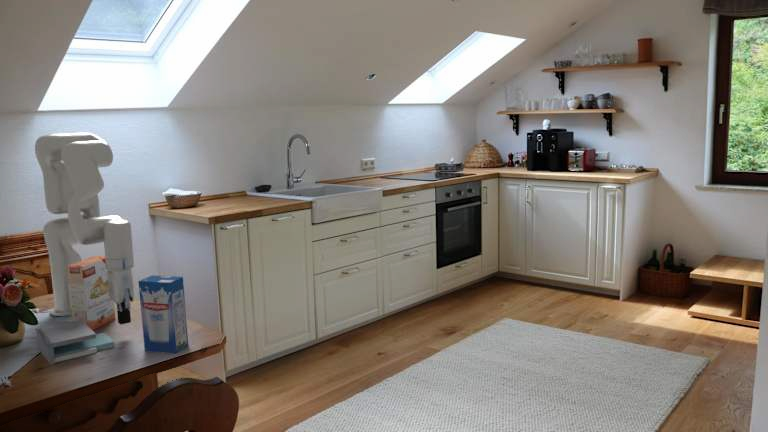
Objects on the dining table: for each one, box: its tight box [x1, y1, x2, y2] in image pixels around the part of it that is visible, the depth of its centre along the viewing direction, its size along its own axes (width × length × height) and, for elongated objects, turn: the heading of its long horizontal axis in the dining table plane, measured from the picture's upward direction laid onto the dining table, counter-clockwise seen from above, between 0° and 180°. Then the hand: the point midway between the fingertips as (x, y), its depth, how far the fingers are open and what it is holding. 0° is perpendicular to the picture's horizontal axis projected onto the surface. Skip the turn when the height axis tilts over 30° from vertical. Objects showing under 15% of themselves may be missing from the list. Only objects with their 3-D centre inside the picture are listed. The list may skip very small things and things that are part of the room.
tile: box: [53, 332, 116, 357], centre depth 185 cm, size 10×16×2 cm, turn 128°
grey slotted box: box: [35, 320, 98, 365], centre depth 183 cm, size 16×12×6 cm
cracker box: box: [67, 255, 116, 332], centre depth 203 cm, size 14×6×21 cm, turn 168°
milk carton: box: [138, 275, 189, 354], centre depth 182 cm, size 10×6×20 cm, turn 75°
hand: (124, 322), depth 193 cm, fingers closed
